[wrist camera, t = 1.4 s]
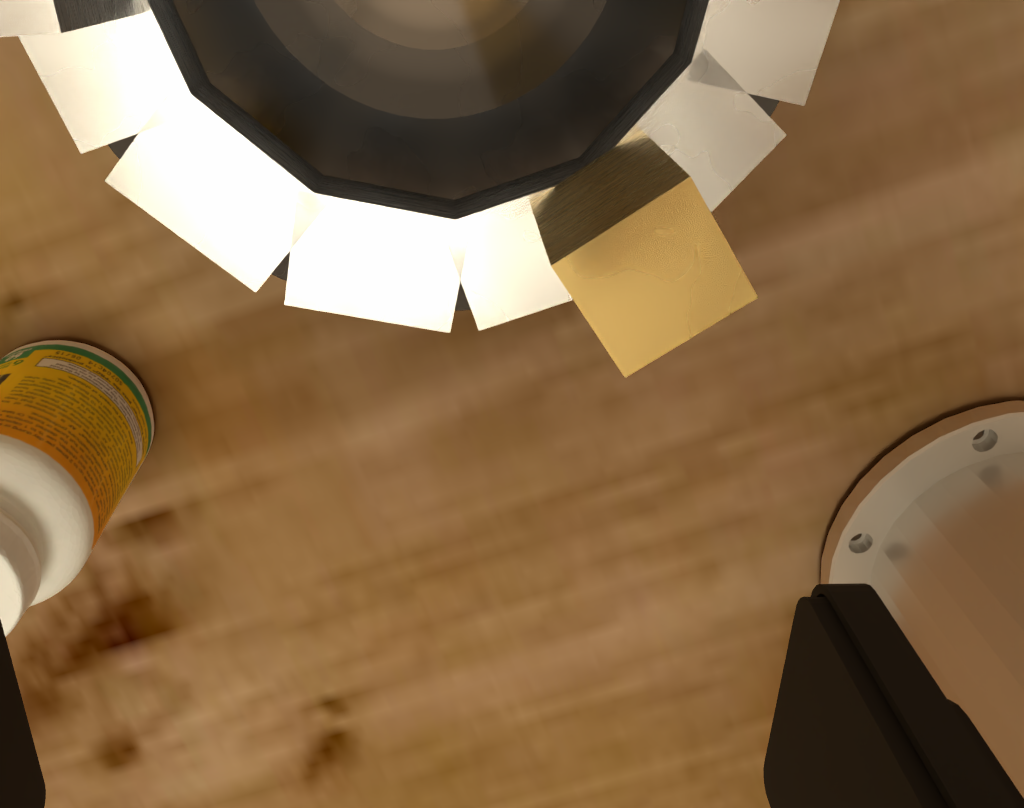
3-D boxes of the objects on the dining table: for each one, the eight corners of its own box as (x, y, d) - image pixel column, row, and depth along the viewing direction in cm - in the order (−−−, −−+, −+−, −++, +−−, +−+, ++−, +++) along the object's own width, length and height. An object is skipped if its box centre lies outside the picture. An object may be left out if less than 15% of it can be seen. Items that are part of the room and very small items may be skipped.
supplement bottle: (110, 506, 32) (-11, 711, 24) (-41, 425, 30) (-230, 615, 22) (189, 394, 31) (91, 571, 22) (35, 301, 29) (-138, 454, 20)
